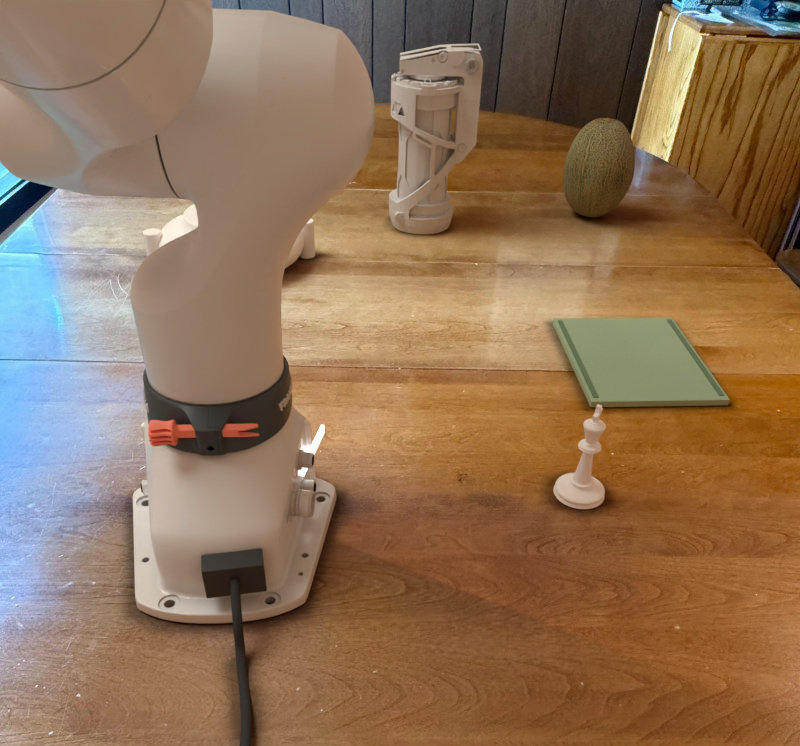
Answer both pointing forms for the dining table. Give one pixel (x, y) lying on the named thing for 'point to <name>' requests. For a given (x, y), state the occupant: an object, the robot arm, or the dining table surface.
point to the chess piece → (584, 470)
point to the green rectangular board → (637, 363)
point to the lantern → (432, 131)
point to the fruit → (599, 167)
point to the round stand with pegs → (189, 222)
